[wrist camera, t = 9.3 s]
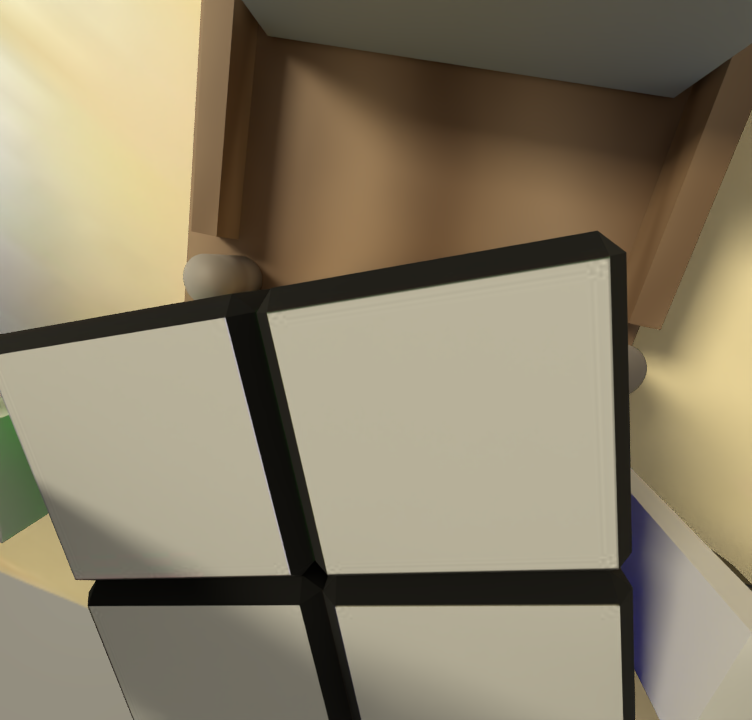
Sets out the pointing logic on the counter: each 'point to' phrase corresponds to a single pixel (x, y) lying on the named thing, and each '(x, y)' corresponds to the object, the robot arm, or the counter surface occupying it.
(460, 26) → the bar
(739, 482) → the counter surface
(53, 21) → the counter surface
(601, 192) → the base
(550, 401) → the puzzle cube
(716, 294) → the counter surface
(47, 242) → the counter surface
